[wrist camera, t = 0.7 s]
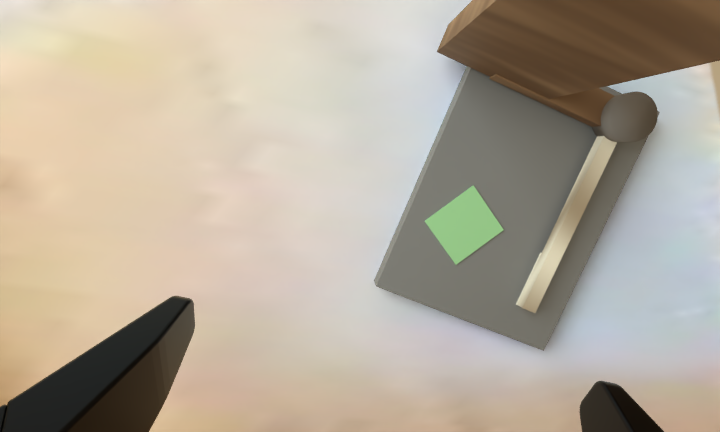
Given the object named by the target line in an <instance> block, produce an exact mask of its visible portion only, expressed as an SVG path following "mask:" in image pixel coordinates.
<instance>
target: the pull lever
mask: <svg viewBox="0 0 720 432" xmlns="http://www.w3.org/2000/svg"><path fill="white" fill-rule="evenodd" d="M437 52H439V53H441V54H443V55H445V56H447V57H449V58H451V59H453V60H456V61H458V62H460V63H462V64H464V65H466V66H468V67H470V68H473V69H475V70H477V71H479V72H481V73H483V74H485V75H487V76H490V78H489V79H491V80H493V81H495V82H497V83H500V84H502V85H504V86H506V87H508V88H510V89H512V90H514V91H517V92H519V93H521V94H523V95H525V96H527V97H529V98H531V99H534V100H536V101H538V102H540V103H542V104H544V105H546V106H549V107H551V108H553V109H555V110H557V111H559V112H561V113H563V114H566V115H568V116H570V117H572V118H574V119H576V120H578V121H580V122H583V123H585V124H587V125H589V126H591V127H592V129H593V131H594V133H595V135H596V136H597V137H596V140H595V142H594V144H593V146H592V148H591V150H590V152H589V154H588V156H587V159H586V161H585V163H584V165H583V167H582V169H581V171H580V173H579V175H578V177H577V180H576V182H575V184H574V186H573V188H572V190H571V192H570V194H569V196H568V199H567V201H566V203H565V205H564V207H563V209H562V211H561V213H560V215H559V218H558V220H557V222H556V224H555V226H554V228H553V230H552V232H551V234H550V237H549V239H548V241H547V243H546V245H545V247H544V249H543V251H542V253H541V256H540V258H539V260H538V262H537V264H536V266H535V268H534V270H533V272H532V275H531V277H530V279H529V281H528V283H527V285H526V287H525V289H524V291H523V294H522V296H521V298H520V300H519V302H518V305H519V306H520V307H522V308H523V309H526V310H528V311H531V312H533V313H536V311H537V308H538V306H539V304H540V302H541V300H542V298H543V296H544V294H545V292H546V290H547V288H548V286H549V283H550V281H551V279H552V277H553V275H554V273H555V271H556V269H557V267H558V265H559V263H560V261H561V258H562V256H563V254H564V252H565V250H566V248H567V246H568V244H569V242H570V240H571V238H572V236H573V233H574V231H575V229H576V227H577V225H578V223H579V221H580V219H581V217H582V215H583V213H584V211H585V208H586V206H587V204H588V202H589V200H590V198H591V196H592V194H593V192H594V190H595V188H596V186H597V183H598V181H599V179H600V177H601V175H602V173H603V171H604V169H605V167H606V165H607V163H608V161H609V158H610V156H611V154H612V152H613V150H614V148H615V146H616V144H617V142H636V141H640V140H642V139H644V138H646V137H647V136H648V135H649V134H650V133H651V132H652V130H653V129H654V127H655V125H656V122H657V115H658V114H657V107H656V105H655V103H654V101H653V100H652V98H651V97H649V96H648V95H647V94H645V93H642V92H630V93H625V94H620V95H615V96H614V95H612V94H610V93H608V92H606V91H604V90H602V89H600V87H605V86H609V85H614V84H618V83H622V82H627V81H631V80H636V79H640V78H644V77H649V76H653V75H657V74H662V73H666V72H671V71H675V70H679V69H684V68H688V67H693V66H697V65H701V64H706V63H710V62H715V61H719V60H720V0H472V1H471V2H470V3H469V4H468V5H467V6H466V7H465V8H464V9H463V10H462V11H461V12H460V13H459V14H458V15H457V16H456V18H455V19H454V20H453V21H452V22H451V23H450V24H449V25H448V27H447V29H446V32H445V34H444V36H443V39H442V41H441V43H440V46H439V48H438V50H437Z"/></svg>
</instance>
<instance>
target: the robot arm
mask: <svg viewBox="0 0 720 432" xmlns="http://www.w3.org/2000/svg"><path fill="white" fill-rule="evenodd" d="M194 328H195V317H194V303H193V301H192V299H190V298H185V297H180V296H173V297H170V298H169V299H167V300H166V301H164V302H163V303H161V304H159V305H158V306H156V307H155V308H153V309H152V310H150V311H149V312H147V313H145V314H144V315H142V316H141V317H139V318H138V319H136V320H135V321H133V322H131V323H130V324H128V325H127V326H125V327H124V328H122V329H121V330H119V331H117V332H116V333H114V334H113V335H111V336H110V337H108V338H107V339H105V340H103V341H102V342H100V343H99V344H97V345H96V346H94V347H93V348H91V349H90V350H88V351H86V352H85V353H83V354H82V355H80V356H79V357H77V358H76V359H74V360H72V361H71V362H69V363H68V364H66V365H65V366H63V367H62V368H60V369H58V370H57V371H55V372H54V373H52V374H51V375H49V376H48V377H46V378H44V379H43V380H41V381H40V382H38V383H37V384H35V385H34V386H32V387H30V388H29V389H27V390H26V391H24V392H23V393H21V394H20V395H18V396H16V397H15V398H13V399H12V400H10V401H9V402H8V404H7V405H2V406H1V407H0V432H149V430H150V428H151V427H152V425H153V423H154V421H155V419H156V417H157V416H158V414H159V412H160V410H161V408H162V406H163V404H164V402H165V400H166V398H167V396H168V394H169V391H170V389H171V387H172V384H173V382H174V379H175V377H176V374H177V372H178V370H179V367H180V365H181V362H182V360H183V357H184V355H185V353H186V350H187V348H188V345H189V343H190V340H191V338H192V336H193V333H194ZM580 419H581V426H582V432H664V431H663V430H662V429H661V428H660V427H659V426H658V425H657V424H656V423H655V422H654V421H653V420H652V419H651V417H650V416H649V415H648V414H647V413H646V412H645V411H644V410H643V409H642V408H641V407H640V406H639V405H638V404H637V403H636V402H635V401H634V400H633V399H632V398H631V397H630V396H629V394H628V393H627V392H626V391H625V390H624V389H623V388H622V387H621V386H619V385H617V384H614V383H610V382H605V381H598V382H596V383H595V384H594V386H593V387H592V388H591V390H590V391H589V392H588V394H587V395H586V396H585V398H584V399H583V400H582V402H581V405H580Z"/></svg>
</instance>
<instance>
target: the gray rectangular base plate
mask: <svg viewBox="0 0 720 432" xmlns="http://www.w3.org/2000/svg"><path fill="white" fill-rule="evenodd" d="M489 78H490V76H487V75H485V74H483V73H481V72H479V71H477V70H475V69H473V68H470V67H468V66H467V67H466V69H465V72H464V74H463V76H462V79H461V81H460V83H459V86H458V88H457V90H456V93H455V95H454V97H453V100H452V102H451V104H450V106H449V109H448V111H447V113H446V116H445V118H444V120H443V123H442V125H441V127H440V130H439V132H438V134H437V137H436V139H435V141H434V143H433V146H432V148H431V150H430V153H429V155H428V157H427V160H426V162H425V164H424V167H423V169H422V171H421V173H420V176H419V178H418V180H417V183H416V185H415V187H414V190H413V192H412V194H411V197H410V199H409V201H408V204H407V206H406V208H405V210H404V213H403V215H402V217H401V220H400V222H399V224H398V227H397V229H396V231H395V234H394V236H393V238H392V241H391V243H390V245H389V247H388V250H387V252H386V254H385V257H384V259H383V261H382V264H381V266H380V268H379V271H378V273H377V275H376V278H375V280H374V282H375V285H376V286H377V287H379V288H382V289H385V290H387V291H390V292H392V293H395V294H398V295H400V296H403V297H405V298H408V299H411V300H413V301H416V302H418V303H421V304H424V305H426V306H429V307H432V308H434V309H437V310H439V311H442V312H445V313H447V314H450V315H452V316H455V317H458V318H460V319H463V320H465V321H468V322H471V323H473V324H476V325H478V326H481V327H484V328H486V329H489V330H491V331H494V332H497V333H499V334H502V335H504V336H507V337H510V338H512V339H515V340H517V341H520V342H523V343H525V344H528V345H530V346H533V347H536V348H538V349H541V350H543V351H544V349H545V347H546V345H547V343H548V341H549V339H550V337H551V334H552V332H553V330H554V328H555V326H556V324H557V322H558V320H559V318H560V316H561V314H562V312H563V310H564V308H565V306H566V304H567V302H568V300H569V298H570V295H571V293H572V291H573V289H574V287H575V285H576V283H577V281H578V279H579V277H580V275H581V273H582V271H583V269H584V267H585V265H586V263H587V261H588V259H589V256H590V254H591V252H592V250H593V248H594V246H595V244H596V242H597V240H598V238H599V236H600V234H601V232H602V230H603V228H604V226H605V224H606V222H607V220H608V217H609V215H610V213H611V211H612V209H613V207H614V205H615V203H616V201H617V199H618V197H619V195H620V193H621V191H622V189H623V187H624V185H625V183H626V181H627V178H628V176H629V174H630V172H631V170H632V168H633V166H634V164H635V162H636V160H637V158H638V156H639V154H640V152H641V150H642V148H643V146H644V144H645V142H646V139H647V137H648V136H647V137H646V138H644V139H642V140H640V141H636V142H617V144H616V146H615V148H614V150H613V152H612V154H611V156H610V158H609V161H608V163H607V165H606V167H605V169H604V171H603V173H602V175H601V177H600V179H599V181H598V183H597V186H596V188H595V190H594V192H593V194H592V196H591V198H590V200H589V202H588V204H587V206H586V208H585V211H584V213H583V215H582V217H581V219H580V221H579V223H578V225H577V227H576V229H575V231H574V233H573V236H572V238H571V240H570V242H569V244H568V246H567V248H566V250H565V252H564V254H563V256H562V258H561V261H560V263H559V265H558V267H557V269H556V271H555V273H554V275H553V277H552V279H551V281H550V283H549V286H548V288H547V290H546V292H545V294H544V296H543V298H542V300H541V302H540V304H539V306H538V308H537V311H536V313H533V312H531V311H528V310H526V309H523V308H522V307H520V306H519V305H518V302H519V300H520V298H521V296H522V294H523V291H524V289H525V287H526V285H527V283H528V281H529V279H530V277H531V275H532V272H533V270H534V268H535V266H536V264H537V262H538V260H539V258H540V256H541V253H542V251H543V249H544V247H545V245H546V243H547V241H548V239H549V237H550V234H551V232H552V230H553V228H554V226H555V224H556V222H557V220H558V218H559V215H560V213H561V211H562V209H563V207H564V205H565V203H566V201H567V199H568V196H569V194H570V192H571V190H572V188H573V186H574V184H575V182H576V180H577V177H578V175H579V173H580V171H581V169H582V167H583V165H584V163H585V161H586V159H587V156H588V154H589V152H590V150H591V148H592V146H593V144H594V142H595V140H596V137H597V136H596V135H595V133H594V131H593V129H592V127H591V126H589V125H587V124H585V123H583V122H580V121H578V120H576V119H574V118H572V117H570V116H568V115H566V114H563V113H561V112H559V111H557V110H555V109H553V108H551V107H549V106H546V105H544V104H542V103H540V102H538V101H536V100H534V99H531V98H529V97H527V96H525V95H523V94H521V93H519V92H517V91H514V90H512V89H510V88H508V87H506V86H504V85H502V84H500V83H497V82H495V81H493V80H491V79H489ZM600 89H602V90H604V91H606V92H608V93H610V94H612V95H614V96H615V95H620V94H621V93H619V92H617V91H615V90H613V89H611V88H609V87H607V86H605V87H600ZM659 113H660V112H658V111H657V114H658V115H659ZM658 115H657V117H658Z"/></svg>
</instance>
